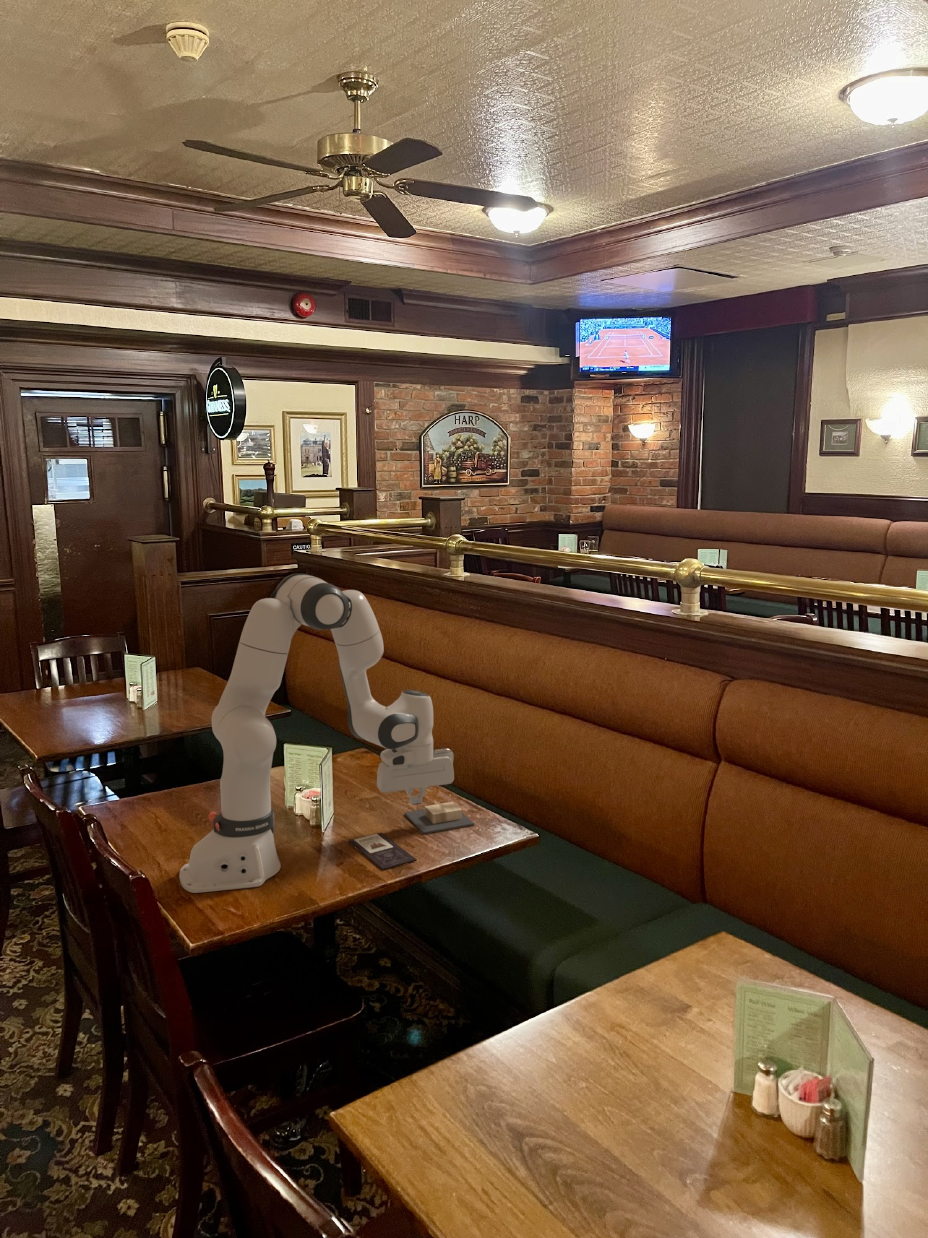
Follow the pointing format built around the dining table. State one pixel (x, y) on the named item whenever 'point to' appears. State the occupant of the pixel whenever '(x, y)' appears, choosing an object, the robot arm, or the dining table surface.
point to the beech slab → (443, 812)
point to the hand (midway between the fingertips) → (415, 803)
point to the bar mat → (428, 827)
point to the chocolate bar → (382, 851)
